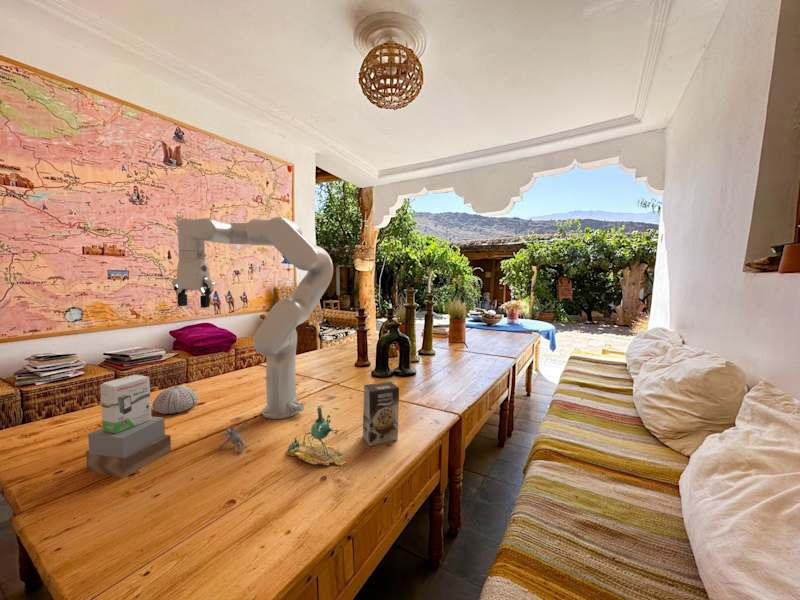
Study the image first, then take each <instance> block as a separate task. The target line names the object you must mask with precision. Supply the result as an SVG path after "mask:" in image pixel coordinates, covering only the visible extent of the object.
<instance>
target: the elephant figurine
mask: <svg viewBox="0 0 800 600" xmlns="http://www.w3.org/2000/svg"><path fill="white" fill-rule="evenodd" d="M246 425H248V422H244V423H242V426H241V427H239V428H237V429H236V430H235V424H232V425H231V426H230V427H228V428H226V429H225V431H224V432H223V434H222V436H225V437H227V436H228V437H227V439H226V440H225V441H224V442H223V443H222V444H219V447H218V449H222V448H224V446H225V445H226V444H228V443H229V441H230V443H231V444H232V445H233V446H234V447H235V448H236V450H237V452H238V453H240V454H241V453H243V449H246V448H247V447H248V445H247V444H246V443H245V441H244V440H243V437H242V435H241V434H240V432H241V431H242V429H243V428H244V427H246ZM234 430H235V431H234ZM240 445H241V446H240ZM241 447H242V448H243V449H242V448H241Z"/></svg>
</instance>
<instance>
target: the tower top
mask: <svg viewBox="0 0 800 600" xmlns="http://www.w3.org/2000/svg"><path fill="white" fill-rule="evenodd" d="M165 428H166V427H165V417H159V416H153V415H151V420H149V421H146V422H144V423H141V424H139V425H136V426H134V427H131V428H129V429H126V430H124V431H121V432H119V433H111V432H107V431H103V426H102V427H100V428H98V429H95V430H94V431H91V432H89V433H87V436H88V437H87V438H88V450H89V454H96V455H102V456H109V457H116V458H123V459H124V458H126V457H128V456H130V455H131V454H133V453H135V452H137V451H139V450H140V449H142V448H144V447H146V446H148V445H149V444H151V443H153V442H155V441H157V440H158V439H160V438H162V437H164V436H165V435H166V429H165Z"/></svg>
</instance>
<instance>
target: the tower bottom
mask: <svg viewBox="0 0 800 600" xmlns="http://www.w3.org/2000/svg"><path fill="white" fill-rule="evenodd" d="M171 442H172V441H171V435H170V434H165V436H164V437H162V438H160V439H158V440H157V441H155V442H153V443H151V444H149V445H148V446H146V447H144V448H142V449H140V450H139V451H137V452H135V453H133V454H131V455H130V456H128V457H126V458H124V459H123V458H116V457H109V456H102V455H96V454H89V449H88V450H86V451H85V458H86V459H85V460H86V469H87V470H89V471H93V472H98V473H100V474H105V475H110V476H113V477H117V478H121V479H125V478H126V477H128V476H130V475H132V474H134V473H135V472H138V471H139V470H141V469H142V468H145V467H146V466H147V465H150V464H152V463H153V462H156V461H157V460H159V459H161V458H162V457H164V456H165V455H168V454H169V453H171V452H172V447H171V445H172V444H171Z"/></svg>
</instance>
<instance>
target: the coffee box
mask: <svg viewBox="0 0 800 600" xmlns="http://www.w3.org/2000/svg"><path fill="white" fill-rule="evenodd" d="M399 402H400V387H398V386H397V385H396V384H394V383H393V382H392V381H387V382H386V381H385V382H378V383H369V384H363V413H362V415H363V417H362V418H363V419H362V437H363V439H364V440H365V442H366V443H367V445H368V446H369V447H371V446H376V445H381V444H385V443H390V441H391V442H394V441H393V440H395V441H398V440H399V438H398V437H399V434H398V433H399ZM397 439H398V440H397Z"/></svg>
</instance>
